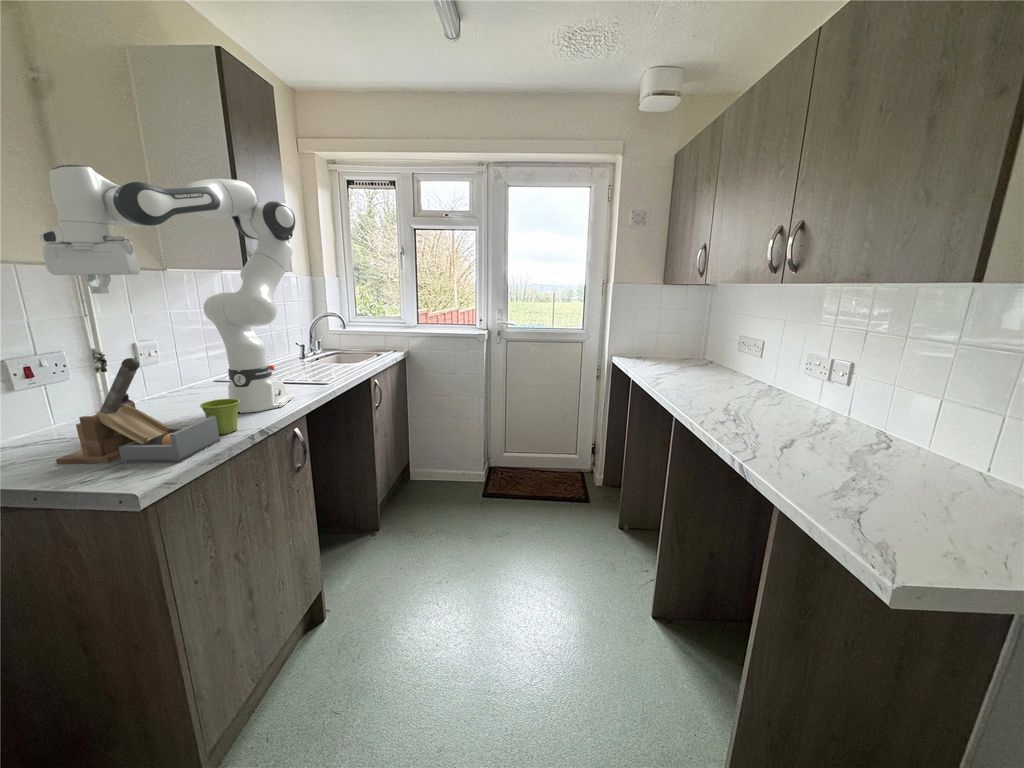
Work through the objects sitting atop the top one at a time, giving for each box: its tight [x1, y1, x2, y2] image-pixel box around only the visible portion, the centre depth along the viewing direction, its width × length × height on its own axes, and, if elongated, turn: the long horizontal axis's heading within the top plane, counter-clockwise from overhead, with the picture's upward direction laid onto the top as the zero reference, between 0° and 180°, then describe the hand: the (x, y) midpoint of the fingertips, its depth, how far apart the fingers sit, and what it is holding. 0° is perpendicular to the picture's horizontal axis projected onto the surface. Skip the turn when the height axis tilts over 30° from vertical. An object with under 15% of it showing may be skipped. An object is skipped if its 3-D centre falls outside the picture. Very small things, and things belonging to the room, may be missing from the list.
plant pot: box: [199, 398, 240, 435], centre depth 118 cm, size 9×9×9 cm
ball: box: [162, 433, 172, 445], centre depth 104 cm, size 4×4×4 cm
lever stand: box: [55, 404, 136, 465], centre depth 103 cm, size 14×12×11 cm
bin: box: [119, 416, 221, 464], centre depth 104 cm, size 14×14×7 cm
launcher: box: [93, 357, 172, 445], centre depth 102 cm, size 9×14×17 cm
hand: (100, 293), depth 105 cm, fingers closed
